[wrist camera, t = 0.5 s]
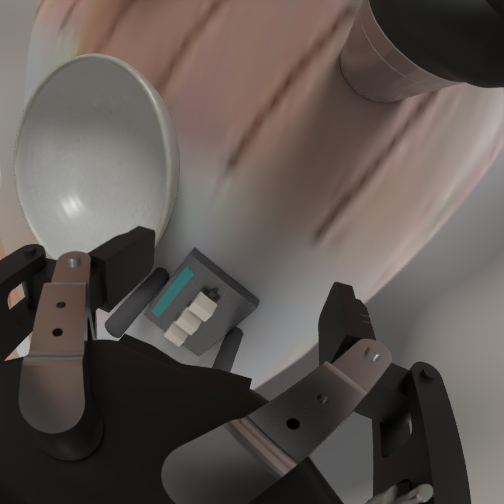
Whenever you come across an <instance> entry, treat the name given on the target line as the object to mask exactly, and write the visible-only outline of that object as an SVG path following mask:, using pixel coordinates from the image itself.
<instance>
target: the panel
mask: <svg viewBox="0 0 504 504" xmlns="http://www.w3.org/2000/svg"><path fill="white" fill-rule="evenodd" d="M200 292H202V293H203V294H204V295H206V296H207V297H208V298H209V299H211V300H212V301H213V302H215V303H216V304H217V307H216V309H215V311H214V313H213V314H212V316H211V317H210V318H209V319H208V320H207V321H206V322H204V321H203V320H202V322H201V323H200V325H199V327H198V329H197V330H196V331H195V332H194V333H193V334H192V335H190V334H188V336H187V338H186V339H185V341H184V343H183V344H182V345H184V346H185V347H186V348H188V349H189V350H191V351H192V352H193V353H195V354H196V355H197V356H200V355H202V354H203V353H204V352H205V351H206V350H208V349H209V348H210V347H211V346H213V345H214V344H215V343H216V342H217V341H219V340H220V339H221V338H222V337H223V336H225V335H226V334H227V333H228V332H229V331H231V330H232V329H233V328H234V327H235V326H237V325H238V324H239V323H240V322H241V321H242V320H244V319H245V318H246V317H247V316H248V315H249V314H251V313H252V312H253V311H254V310H255V309H256V308H257V306H258V303H259V299H257V298H256V297H255V296H254V295H252V294H251V293H250V292H249V291H247V290H246V289H245V288H244V287H242V286H241V285H240V284H239V283H238V282H236V281H235V280H234V279H233V278H231V277H230V276H229V275H228V274H226V273H225V272H224V271H223V270H222V269H220V268H219V267H218V266H217V265H215V264H214V263H213V262H212V261H211V260H209V259H208V258H207V257H206V256H205V255H203V254H202V253H201V252H200V251H199V250H197V249H196V248H194V249H193V250H192V251H191V252H190V253H189V255H188V256H187V257H186V259H185V260H184V261H183V263H182V264H181V265H180V266H179V268H178V269H177V270H176V272H175V273H174V274H173V276H172V277H171V278H170V280H169V281H168V282H167V284H166V285H165V286H164V288H163V289H162V290H161V292H160V293H159V294H158V296H157V297H156V299H155V300H154V301H153V303H152V304H151V305H150V307H149V308H148V310H147V311H146V312H145V314H144V315H145V316H147V317H148V318H149V319H150V320H152V321H153V322H154V323H155V324H156V325H158V326H159V327H160V328H162V329H163V330H164V331H165V332H166V331H167V329H168V328H169V326H170V325H171V324H172V323H173V322H174V321H176V320H177V319H178V317H179V316H180V314H181V313H182V312H183V311H184V309H185V308H186V307H188V308H189V306H190V304H191V303H192V301H193V300H194V298H195V297H196V296H197V295H198V294H199V293H200Z"/></svg>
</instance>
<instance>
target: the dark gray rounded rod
mask: <svg viewBox="0 0 504 504" xmlns="http://www.w3.org/2000/svg"><path fill="white" fill-rule="evenodd" d="M168 280H169V274H168V272H167V271H166V270H165V269H163V268H157V269H156V270H155V271H154V272H153V273H152V274H151V275H150V276H149V277H148V278H147V279H146V280H145V281H144V282H143V283H142V284H141V285H140V286H139V287H138V288H137V289H136V290H135V291H134V292H133V293H132V294H131V295H130V296H129V297H128V298H127V300H126V301H125V302H124V303H123V304H122V305H121V306H120V307H119V308H118V309H117V310H116V311H115V312H114V313H113V314H112V315H111V317H110V318H109V319H108V320H107V321H106V322H105V328H106V330H107V331H108V332H109V333H110V334H111V335H112V336H114V337H116V338H120V337H121V336H122V335H123V333H124V332H125V331H126V330H127V329H128V327H129V326H130V325H131V324H132V322H133V321H134V320H135V319H136V318H137V316H138V315H139V314H140V313H141V312H142V310H143V309H144V308H145V307H146V306H147V304H148V303H149V302H150V301H151V300H152V299H153V297H154V296H155V295H156V294H157V293H158V292H159V290H160V289H161V288H162V287H163V286H164V285H165V283H166V282H167V281H168Z"/></svg>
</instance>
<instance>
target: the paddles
mask: <svg viewBox="0 0 504 504" xmlns="http://www.w3.org/2000/svg"><path fill="white" fill-rule="evenodd" d="M216 307H217V304H216V303H215V302H213V301H212V300H211V299H209V298H208V297H207V296H206V295H204V294H203V293H202V292H200V293H199V294H198V295H197V296H196V297H195V298H194V300H193V301H192V303H191V304H190V306H189V308H188V307H186V308H185V309H184V311H183V312H182V313H181V314H180V316H179V317H178V319H177V320H176V321H174V322H173V323H172V324H171V325H170V326H169V328H168V329H167V331H166V332H165V334H164V335H163V336H165V337H166V338H167V339H169V340H170V341H171V342H173V343H174V344H175V345H177V346H178V347H179V346H180V345H181V344H183V343H184V341H185V339H186V338H187V336H188V334H190V335H192V334H193V333H194V332H195V331H196V330H197V329H198V327H199V325H200V323H201V322H202V320H203V321H204V322H206V321H207V320H208V319H209V318H210V317H211V316H212V314H213V313H214V311H215V309H216Z"/></svg>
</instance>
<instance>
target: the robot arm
mask: <svg viewBox="0 0 504 504" xmlns="http://www.w3.org/2000/svg"><path fill="white" fill-rule="evenodd" d="M340 66H341V71H342V73H343V76H344V78H345V79H346V81H347V83H348V84H349V85H350V86H351V87H352V88H353V90H354V91H356V92H357V93H358V94H360V95H361V96H363V97H365V98H366V99H368V100H371V101H375V102H380V103H390V102H394V101H398V100H401V99H405V98H408V97H412V96H415V95H419V94H422V93H426V92H430V91H433V90H437V89H441V88H445V87H449V86H453V85H457V84H461V83H469V84H471V85H474V86H478V87H483V88H498V87H504V0H363V2H362V4H361V7H360V9H359V12H358V14H357V16H356V19H355V21H354V23H353V26H352V28H351V31H350V33H349V35H348V38H347V40H346V42H345V44H344V47H343V49H342V52H341V56H340ZM155 237H156V234H155V231H154V230H152V229H149V228H146V227H142V226H137V227H136V228H134V229H132V230H130V231H129V232H127V233H124V234H120V235H117V236H115V237H113V238H112V239H110V240H109V241H107V242H105V243H104V244H102V245H100V246H98V247H97V248H95V249H93V250H92V251H90V252H89V253H85V252H81V251H71V252H67V253H64V254H62V255H61V256H60V257H59V258H58V260H54V259H48V258H46V252H45V248H44V247H43V246H42V245H39V244H30V245H26V246H23V247H22V248H20V249H18V250H16V251H15V252H13V253H12V254H10V255H8V256H7V257H5V258H3V259H2V260H0V504H344V503H343V502H342V501H341V499H340V498H339V497H338V496H337V494H336V493H335V492H334V490H333V489H332V488H331V486H330V485H329V484H328V482H327V481H326V479H325V478H324V477H323V475H322V474H321V473H320V471H319V470H318V468H317V467H316V466H315V464H314V463H313V461H312V460H311V459H310V456H311V455H312V454H313V453H314V452H315V451H316V450H317V449H318V448H319V447H320V446H321V445H322V444H323V443H324V442H325V441H326V440H327V439H328V438H329V437H330V436H331V435H332V434H333V433H334V432H335V431H336V430H337V429H338V428H339V427H340V426H341V425H342V424H343V423H344V421H346V419H347V418H348V417H349V416H350V415H351V414H352V413H353V412H356V413H358V414H361V415H363V416H366V417H368V418H370V419H372V429H373V462H374V463H373V469H374V471H373V497H372V498H371V499H369V500H368V501H367V502H366V503H365V504H471V498H470V489H469V483H468V476H467V470H466V465H465V460H464V455H463V450H462V445H461V441H460V437H459V433H458V429H457V425H456V421H455V418H454V414H453V411H452V408H451V404H450V401H449V398H448V395H447V392H446V389H445V386H444V383H443V380H442V377H441V375H440V373H439V372H438V371H437V370H436V369H435V368H434V367H433V366H431V365H430V364H428V363H424V362H416V363H414V365H413V366H412V367H411V368H410V370H407V369H405V368H402V367H400V366H397V365H395V364H393V363H392V356H391V353H390V352H389V350H388V349H387V348H386V347H385V346H384V345H382V344H381V343H379V342H377V341H376V338H375V335H374V331H373V327H372V324H371V321H370V317H369V314H368V311H367V308H366V307H365V305H364V304H363V303H362V302H361V300H358V299H356V298H355V295H354V291H353V287H352V286H350V285H346V284H343V283H339V282H334V284H333V286H332V288H331V290H330V293H329V295H328V297H327V300H326V302H325V305H324V307H323V309H322V312H321V314H320V318H319V323H318V332H319V367H318V368H316V369H315V370H314V371H312V372H311V373H310V374H308V375H307V376H306V377H304V378H303V379H302V380H300V381H299V382H297V383H296V384H295V385H293V386H292V387H291V388H289V389H288V390H286V391H285V392H283V393H282V394H280V395H279V396H277V397H276V398H274V399H273V400H271V401H270V402H269V401H268V400H267V399H266V398H264V397H263V396H262V395H260V394H258V393H256V392H255V391H253V390H251V389H250V384H251V380H252V379H251V378H247V377H243V376H240V375H236V374H233V373H230V372H226V371H223V370H220V369H214V368H206V367H199V366H192V365H185V364H181V363H179V362H177V361H176V360H174V359H172V358H171V357H169V356H168V355H166V354H165V353H163V352H162V351H160V350H159V349H157V348H156V347H154V346H153V345H150V344H148V343H145V342H143V341H141V340H138V339H136V338H134V337H131V336H129V335H127V334H124V335H123V336H122V337H121V339H120V340H119V341H114V340H97V318H96V310H97V309H98V308H100V309H102V310H104V311H106V312H108V313H109V312H110V311H111V310H112V309H113V308H114V307H115V306H116V305H117V304H118V303H119V302H120V301H121V300H122V299H123V298H124V297H125V296H127V295H128V294H129V293H130V292H131V291H132V290H133V289H134V288H135V287H136V286H137V285H138V284H139V283H140V282H141V281H142V280H143V279H144V278H145V277H147V276H148V275H149V273H150V272H151V270H152V267H153V263H154V250H155ZM21 283H22V286H23V290H24V294H25V297H24V298H23V299H22V300H21V301H19V302H18V303H17V304H16V305H15V306H13V307H12V308H11V309H9V306H8V301H7V300H8V295H9V293H10V292H11V291H12V290H13V289H14V288H16V287H17V286H18V285H19V284H21ZM32 331H33V332H32ZM31 332H32V338H31V344H30V350H29V354H28V355H26V356H25V357H20V358H16V359H11V360H7V361H4V360H5V359H6V358H7V357H8V356H9V355H10V354H11V353H12V352H13V351H14V350H15V348H16V347H17V346H18V345H19V344H20V343H21V342H22V341H23V340H24V339H25V338H26V337H27V336H28V335H29V334H30V333H31ZM410 420H411V422H412V433H411V434H410V428H409V421H410Z"/></svg>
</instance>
